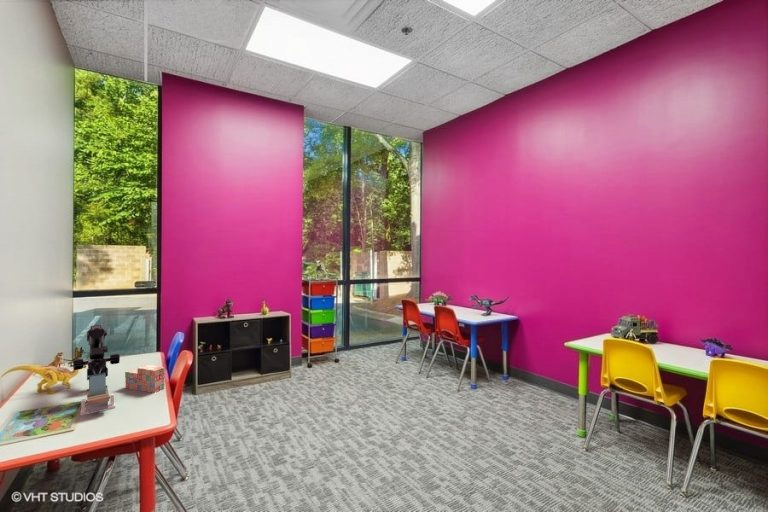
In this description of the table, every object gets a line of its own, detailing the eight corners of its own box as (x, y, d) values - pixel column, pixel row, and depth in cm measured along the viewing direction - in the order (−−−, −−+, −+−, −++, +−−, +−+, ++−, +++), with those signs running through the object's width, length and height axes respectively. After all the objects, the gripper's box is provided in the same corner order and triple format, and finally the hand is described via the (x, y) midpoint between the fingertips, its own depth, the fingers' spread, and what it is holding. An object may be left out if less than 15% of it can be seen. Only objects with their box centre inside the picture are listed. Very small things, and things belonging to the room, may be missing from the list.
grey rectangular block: (89, 394, 178) (89, 375, 179) (105, 391, 182) (105, 372, 183) (89, 396, 174) (89, 376, 175) (105, 393, 178) (105, 374, 179)
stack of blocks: (125, 388, 203) (124, 366, 202) (135, 384, 209) (135, 362, 208) (154, 393, 196) (154, 370, 196) (164, 389, 202) (164, 366, 202)
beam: (86, 401, 185) (86, 390, 186) (108, 396, 191) (108, 386, 191) (85, 413, 166) (85, 401, 166) (110, 407, 172) (110, 396, 172)
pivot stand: (80, 411, 174) (80, 399, 173) (114, 404, 182) (114, 392, 182) (80, 415, 170) (80, 402, 170) (115, 407, 178) (115, 395, 178)
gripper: (72, 343, 182) (72, 371, 174) (119, 338, 194) (120, 364, 186) (73, 356, 189) (73, 383, 180) (118, 349, 200) (120, 375, 192)
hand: (97, 376), depth 184 cm, fingers closed
